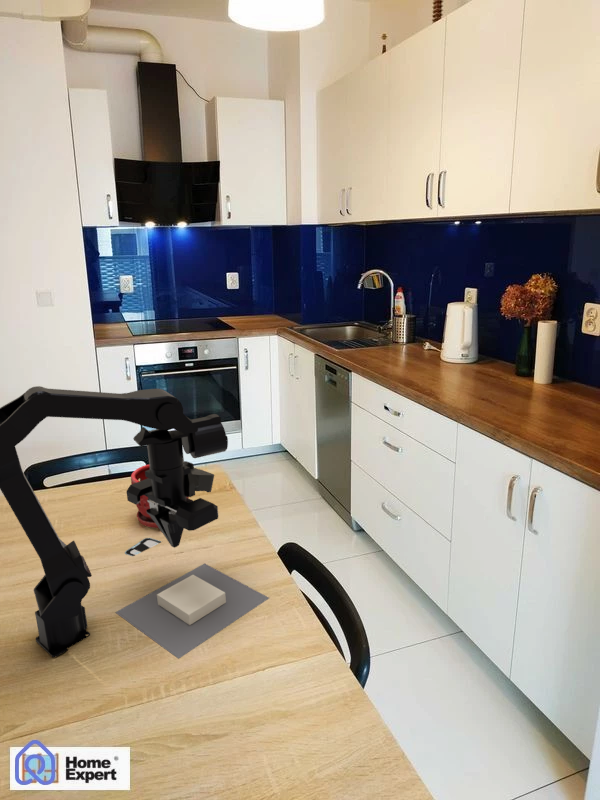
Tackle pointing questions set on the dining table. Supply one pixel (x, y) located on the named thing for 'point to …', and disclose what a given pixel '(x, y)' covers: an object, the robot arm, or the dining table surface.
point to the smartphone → (142, 546)
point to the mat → (187, 637)
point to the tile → (191, 599)
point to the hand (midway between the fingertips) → (175, 546)
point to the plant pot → (143, 498)
